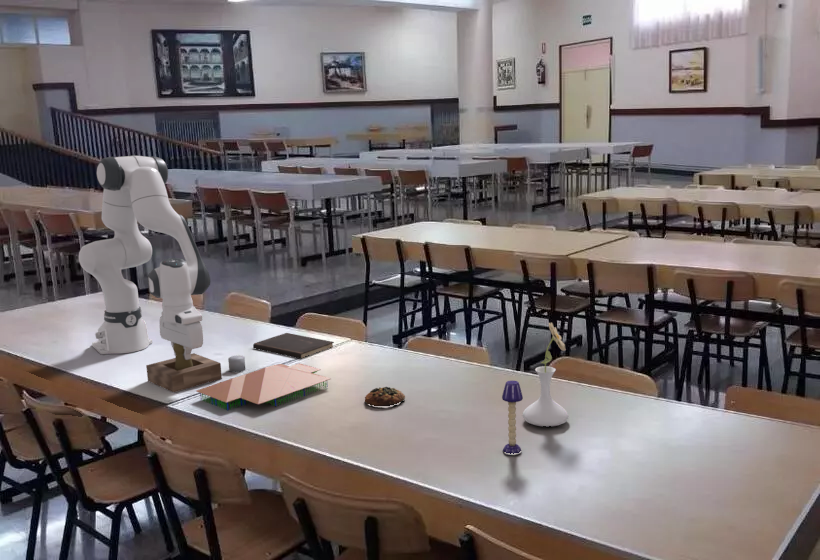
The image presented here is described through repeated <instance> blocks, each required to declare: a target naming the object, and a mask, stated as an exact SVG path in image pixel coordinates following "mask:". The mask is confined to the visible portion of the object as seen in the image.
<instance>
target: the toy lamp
mask: <svg viewBox="0 0 820 560" xmlns="http://www.w3.org/2000/svg"><path fill="white" fill-rule="evenodd" d="M501 399H502V401H504V402H507V404H508V406H507V411H508V415H507V416H508V417H507V418H508V419H507V422H508V423H507V424H508V427H507V429H508V443H507V444H505V445H504V446H503V450H502V452H503V451H504V452H506V453H510V454H511V453H513V454H514V453H519V452H520V451H522V448H521V446H520V445H519V444H517V432H516V430H517V426H516V425H517V420H516V418H517V413H516V411H517V408H516V406H517V403H519V402H521V401H523V392H522V390H521V385H520V382H519V381H517V380H507V381H506V382H505V384H504V387H503V392H502V395H501Z"/></svg>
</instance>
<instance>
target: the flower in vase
mask: <svg viewBox="0 0 820 560" xmlns="http://www.w3.org/2000/svg"><path fill="white" fill-rule="evenodd" d="M548 328H549V331H550V332H551V335H552V337H551V339H550V341H549V343H548V344H547V347H546V349H545V350H546V351H545V353H544V354H545V357H544V360H543V361H541V362H540V364H544V366H543V365H542V366H538V367H536V368H535V372H536V374H537V376H538V377H539V381H540V382H539V383H540V395H539V398H538V399H537V400H535V401H534V402H533V403H531V404H529V405H528V406H527V407H526V408H525V409H524V410H523V413H522V415H521V416H522V418H523V420H524V421H525V422H526V423H529V424H531V425H534V426H538V427H543V426H546V427H547V428H548V427H549V426H551V427H556V426H557V427H558V426H559V425H563V424H565V423H566V422H567V421H568V419H569V418H570V417H569V414H568V411H567V410H566V409H565V408H564V407H563V406H562V405H560V404H559V403H557V402H556V401H555V399H553V398H552V396H551V383H552V382H551V381H552V377H553V376H554V373H555V372H556V370H557V369H556V368H555V367H552V366H547V364H548V363H549V362H551V361H552V359H553V357H552V355H551V352H550V351H549V349H550V346H551V345H552V342H553V341H554V342H555V343H556V345H558V348H559V349H560V350H561V351H563V352H564V351H566V350H567V349H566V344H565V343H564V341H563V340H562V339H563V338H562V336H561V335H560V334H559V333H558V329H557V327H556V326H555V327H554V323H553V322H548Z"/></svg>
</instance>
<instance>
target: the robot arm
mask: <svg viewBox="0 0 820 560" xmlns="http://www.w3.org/2000/svg"><path fill="white" fill-rule="evenodd" d="M96 177H97V182H98V184H99V185H100V186H101V188H103V193H102V203H101V205H102V206H101V222H102V223H103V224H104V226H105V227H106V228H108V229H110V230H111V231H113V232H114V236H113V238H107V239H100V240H95V241H92V242H90V243H87V244H85V245H83V246H81V248H80V250H79V253H78V263H79V265H80V266H81V268H82V269H83V270H84V271H85V272H86V273H87V274H89V275H92V276H93V277H94V278H95V280H96V281H97V282H98V283H99V285H100V287H101V290H102V294H103V301H104V307H105V308H104V309H105V310H104V314H103V317H104V318H103V320H104V321H103V323H102V324H101V325H100V326H99V328H98V329H97V331H96V332H95V334H94V335H95V339H97V340H95V341H93V342H92V343H91V346H92V347H93V348H94V349H95V350H96V351H97V352H98V354H100V355H109V354H111V355H112V354H128V353H133V352H138V351H142V350H144V349H146V348H148V347H149V345H151V344H153V339H152V338H149V332H148V327H147V323H146V321H145V320H144V319H142V317H143V316H142V309H141V306H140V301H139V292H138V291H139V290H138V286H137V285H136V284H135V283H134V282H133V281H130V280H128V279H125V278H124V276H123V274H122V270H126V269H129V268H135V267H139V266H142V265H143V264H146V263H148V262H149V261H150V260H151V258H152V257H153V256H152V255H153V247H152V244H151V242H150V240H149V239H148V238H146V236H144V235H143V234H142V233H141V231H140V229H139V226H138V224H140V225H141V226H142V227H144V228H146V229H147V230H150V231H153V232H157V233H162V234H165V235H168V236H170V237H172V238H174V239H175V240H176V241H177V242H178V245H179V247H180V249H181V251H182V252H181V253H182V254H183V257H184V259H182V258H177V257H169V258H166V259H162V261H160V263H159V266H157V267H156V268H153V269H151V271H150V272H149V274H148V275H147V287H148V292H149V294H151V295H152V296H153V297H155V298H157V299H162V303H161V307H162V311H161V316H160V318H159V335H160V337H161V339H163V340H166V341H167V342H170V345H171V348H173V346H174V344H175V343H176V344H179V345H182V346H184V349H185V352H184V354H183V358H184V359H186V360H189V359H191V354H192V352H193V350H194V349H199V348H201V347H202V346H203V345H204V333H203V331H204V330H203V325H202V323H201V322H202V321H203V315H202V313H201V312H200V311H198V310H197V309H196V307H195V306H194V304H193V303H194V301H193V299H192V296H195V295H197V296H200V295H203V294H204V293H205V292H206V291H207V290H208V289H209V287H210V286H211V276H210V275H211V274H210V272H209V270H208V268H207V266H206V263H205V262H204V260H203V258H202V256H201V254H200V251H199V249H198V246H197V244H196V241H195V239H194V237H193V234H192V232H191V230H190V227H189V225H188V222H187V221H186V219H185V217H184V216H183V215H182V214H179V213H178V212H177V211H175V209H174V208H173V206H172V205H171V202H170V199H169V196H168V191H167V188H166V183H167V182H168V179H169V170H168V166H167V163H166V162H165V161H164V159H162V158H161V157H157V156H153V155H152V156H144V155H143V156H142V155H129V156H128V155H127V156H115V157H114V156H109V157H105V158H101V159H100V161H99V162H98V163H97V166H96ZM173 355H174V356H175V357H176V353H175V352H174V351H173Z"/></svg>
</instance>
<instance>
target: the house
mask: <svg viewBox="0 0 820 560" xmlns="http://www.w3.org/2000/svg"><path fill="white" fill-rule="evenodd" d="M321 370H322V369H321V368H317V367H314V366H310V365H308V364H304V363H299V362H298V363H296V364H293V365H286V364H284V363H280V364H272V365H270V366H266V367H263V368H260V369H258V370H254V371H252V372H248V373H245V374H242V375H239V376H236V377H232V378H230V379H227V380H224V381H221V382H218V383H214V384H212V385H209V386H206V387H203V388H199V389H197V390H196V392H197V393H198V394H199V395H200V396H201V397H200V401H203V402H205V403H208V404H211V405H214V403H215V407H218V408H221V409H223V408H225V410H226V411H228V410H229V406H230V409H232V406H234V405H235V408H237V406H236V405H237V403H238V405H240V407H242V406H244V405H246V401H247V403H253V404H256V405H261V404H264V403H267V404H268V405H269V403H270V404H271V405H272V403H274V407H275V406H276V407H277V405H278V406H280V405H279V404H282V403H281V402H282V401H284V402H285V404H286V402H289V399H291V400H293V399H295V400H296V398H295V396H299V395H300V397H302V398H303V397H304V396H306V395H308V393H307V392H310V391H313V390H314V393H315V392H316V391H318V392H319V390H321V386H322V387H323V386H324V389H325V388H326V389H327V387H328V386H329V385H328V384H327V382H328V381H330V380H332V378H331V377H327V376H324V375H320V374H318V373H317V372H318V371H321ZM316 385H317V386H316ZM314 386H316V387H314ZM312 387H313V388H312ZM307 388H308V390H307ZM318 388H319V389H318ZM305 389H306V390H305ZM316 389H317V390H316ZM293 392H294V393H293ZM298 392H299V393H298ZM295 393H296V394H295ZM291 394H293V395H291ZM305 394H306V395H305ZM288 395H289V396H288ZM285 396H286V397H285ZM281 397H282V399H281ZM283 397H284V398H283ZM293 397H294V398H293ZM277 399H279V400H277ZM286 399H287V401H286ZM231 402H235V403H232V404H231ZM279 402H280V403H279ZM277 403H278V404H277ZM220 404H221V405H220Z"/></svg>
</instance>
